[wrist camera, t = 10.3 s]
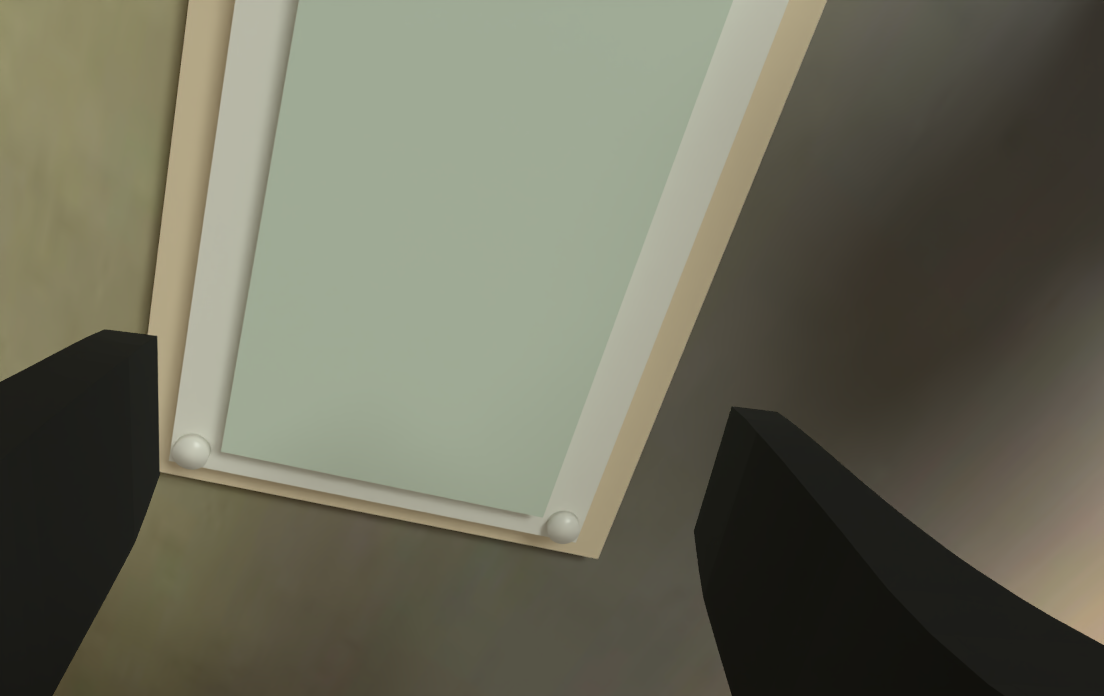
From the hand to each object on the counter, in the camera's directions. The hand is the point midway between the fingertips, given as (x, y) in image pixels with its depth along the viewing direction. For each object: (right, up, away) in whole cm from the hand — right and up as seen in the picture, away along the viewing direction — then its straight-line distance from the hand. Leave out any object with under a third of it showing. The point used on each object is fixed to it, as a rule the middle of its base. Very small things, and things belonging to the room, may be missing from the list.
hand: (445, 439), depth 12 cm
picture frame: (-1, +5, +9) cm, 10 cm away
